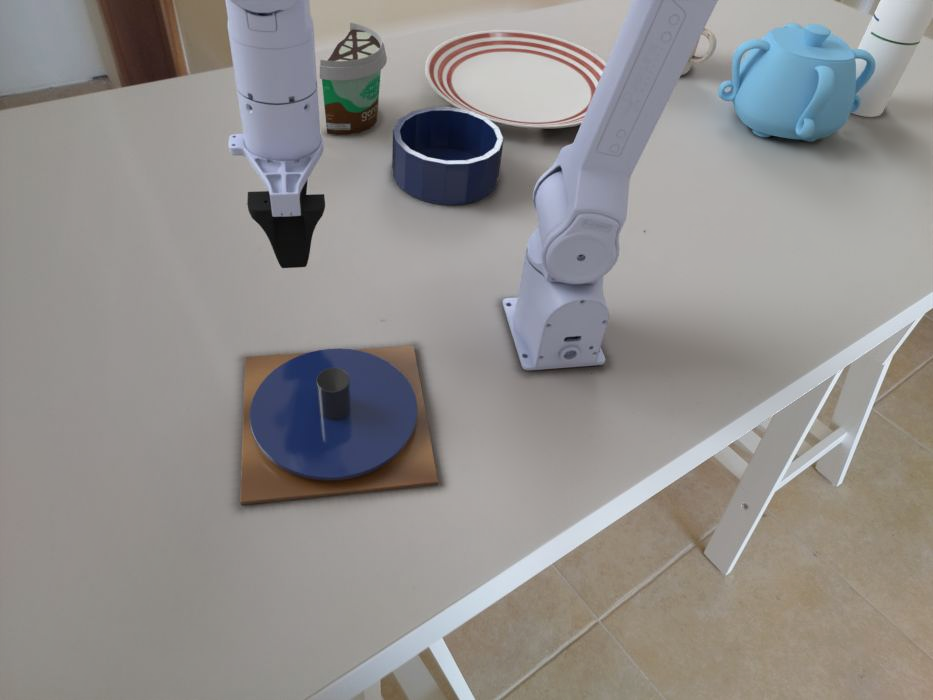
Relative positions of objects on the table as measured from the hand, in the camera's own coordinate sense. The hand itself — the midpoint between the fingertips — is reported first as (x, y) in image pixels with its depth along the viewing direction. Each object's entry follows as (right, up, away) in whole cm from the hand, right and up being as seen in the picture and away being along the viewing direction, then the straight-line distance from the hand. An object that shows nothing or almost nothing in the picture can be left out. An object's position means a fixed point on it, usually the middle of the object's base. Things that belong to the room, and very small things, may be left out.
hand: (292, 236), depth 63 cm
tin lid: (+4, -15, -2) cm, 16 cm away
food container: (+1, +20, +33) cm, 38 cm away
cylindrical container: (+74, +27, +49) cm, 93 cm away
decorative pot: (+59, +23, +42) cm, 76 cm away
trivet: (+4, -15, -1) cm, 16 cm away
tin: (+12, +11, +26) cm, 31 cm away
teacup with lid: (+47, +34, +52) cm, 78 cm away
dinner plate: (+23, +27, +42) cm, 54 cm away
